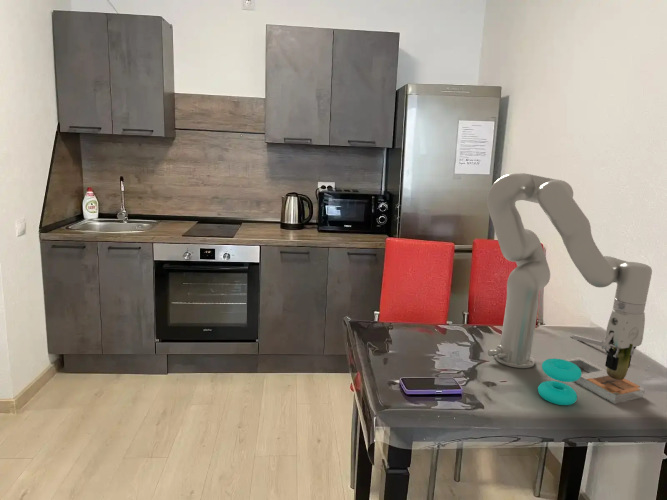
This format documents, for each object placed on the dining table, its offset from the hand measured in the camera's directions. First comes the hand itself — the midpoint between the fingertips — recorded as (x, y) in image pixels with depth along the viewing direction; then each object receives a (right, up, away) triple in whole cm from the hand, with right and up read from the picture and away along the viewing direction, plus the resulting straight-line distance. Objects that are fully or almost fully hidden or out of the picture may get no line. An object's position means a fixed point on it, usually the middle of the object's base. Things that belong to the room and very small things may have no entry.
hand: (617, 366), depth 144 cm
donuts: (-19, -8, -4) cm, 21 cm away
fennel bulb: (0, -4, +1) cm, 4 cm away
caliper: (+11, -2, +34) cm, 35 cm away
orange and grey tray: (-3, -6, +7) cm, 10 cm away
